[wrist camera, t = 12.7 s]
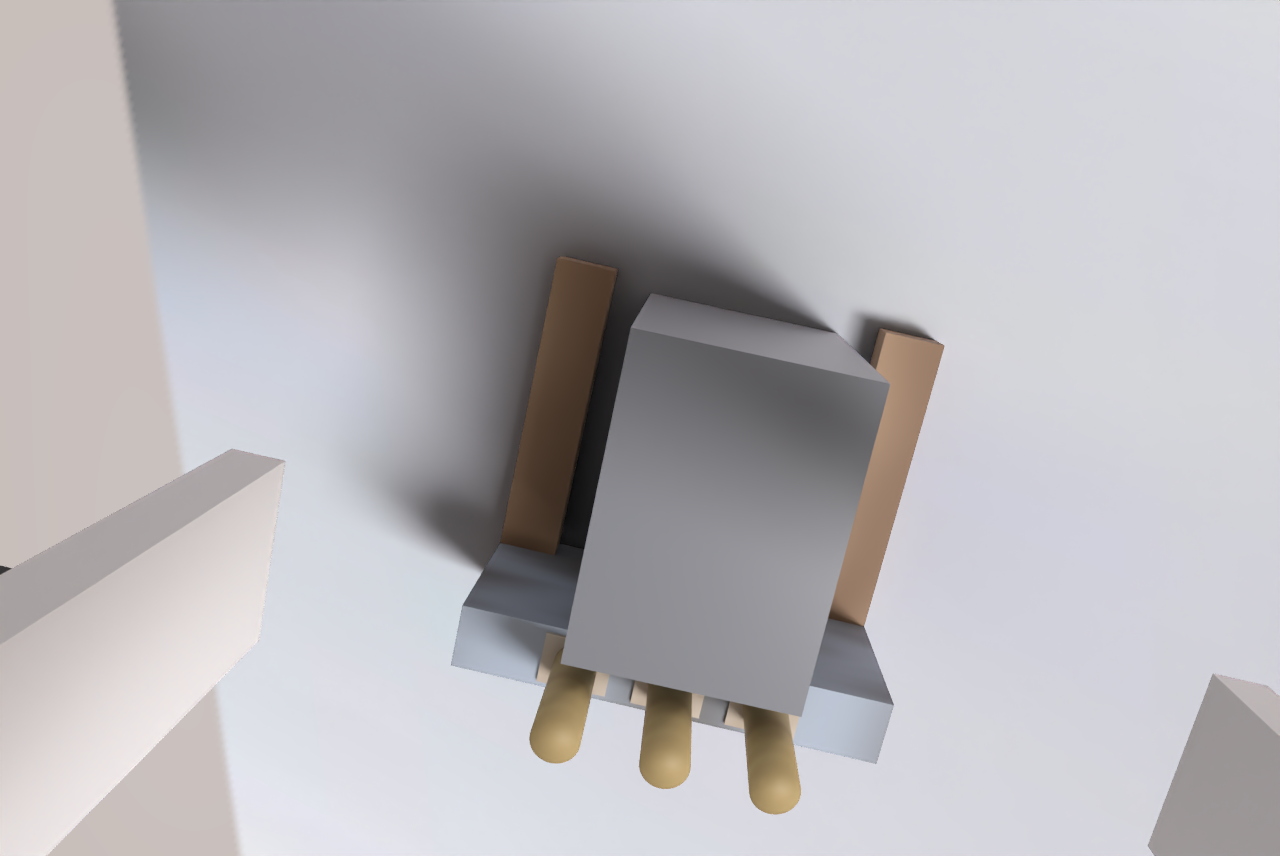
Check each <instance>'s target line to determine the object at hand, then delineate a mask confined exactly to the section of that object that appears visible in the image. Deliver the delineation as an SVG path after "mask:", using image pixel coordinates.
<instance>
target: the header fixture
mask: <svg viewBox="0 0 1280 856" xmlns="http://www.w3.org/2000/svg"><path fill="white" fill-rule="evenodd" d="M617 273H618V269H617V268H613V267H609V266H604V265H600V264H595V263H591V262H587V261H582V260H578V259H573V258H569V257H565V256H561V257H559V258H557V262H556V267H555V272H554V277H553V282H552V287H551V292H550V297H549V302H548V307H547V312H546V317H545V322H544V327H543V332H542V337H541V342H540V347H539V352H538V357H537V362H536V367H535V372H534V377H533V382H532V387H531V392H530V397H529V401H528V406H527V411H526V416H525V421H524V426H523V431H522V436H521V441H520V446H519V451H518V456H517V461H516V466H515V471H514V476H513V481H512V486H511V491H510V496H509V501H508V506H507V511H506V516H505V521H504V526H503V531H502V536H501V541H500V544H499V546H498V547H497V549H496V551H495V552H494V554H493V556H492V557H491V559H490V561H489V562H488V564H487V566H486V567H485V569H484V571H483V572H482V574H481V576H480V577H479V579H478V581H477V582H476V584H475V586H474V587H473V589H472V591H471V592H470V594H469V596H468V597H467V599H466V601H465V602H464V604H463V606H462V611H461V616H460V621H459V626H458V631H457V636H456V642H455V647H454V652H453V657H452V662H451V665H452V666H456V667H460V668H465V669H469V670H473V671H478V672H482V673H486V674H491V675H495V676H499V677H504V678H508V679H512V680H516V681H521V682H525V683H529V684H534V685H538V686H542V687H545V690H544V693H543V696H542V699H541V702H540V705H539V708H538V711H537V714H536V717H535V720H534V723H533V726H532V729H531V733H530V745H531V748H532V750H533V751H534V753H535V754H536V755H537V756H538V757H539V758H541V759H542V760H544V761H546V762H549V763H563V762H566V761H568V760H570V759H572V758H573V757H574V756H575V755H576V753H577V752H578V750H579V747H580V743H581V739H582V735H583V730H584V726H585V721H586V717H587V713H588V708H589V704H590V699H591V698H594V699H598V700H603V701H607V702H611V703H616V704H620V705H624V706H629V707H633V708H637V709H642V710H645V718H644V727H643V735H642V744H641V753H640V762H639V767H640V772H641V774H642V776H643V778H644V779H645V780H646V781H647V782H648V783H649V784H651V785H652V786H655V787H657V788H662V789H670V788H674V787H677V786H679V785H680V784H682V783H683V782H684V781H685V780H686V779H687V777H688V775H689V773H690V767H691V722H692V721H693V722H698V723H702V724H706V725H711V726H715V727H719V728H724V729H728V730H732V731H737V732H741V733H745V744H746V756H747V769H748V782H749V794H750V798H751V800H752V802H753V804H754V805H755V806H756V807H757V808H758V809H760V810H761V811H763V812H765V813H769V814H782V813H785V812H788V811H789V810H791V809H792V808H794V806H795V805H796V804H797V803H798V801H799V799H800V795H801V787H800V781H799V775H798V769H797V763H796V757H795V751H794V745H797V746H801V747H806V748H810V749H814V750H819V751H823V752H827V753H832V754H836V755H840V756H844V757H849V758H853V759H857V760H862V761H866V762H870V763H875V764H876V763H877V760H878V757H879V753H880V750H881V747H882V743H883V740H884V736H885V733H886V730H887V726H888V723H889V720H890V716H891V713H892V710H893V706H894V704H893V702H892V699H891V696H890V694H889V691H888V688H887V686H886V683H885V681H884V678H883V675H882V673H881V670H880V668H879V665H878V662H877V660H876V657H875V654H874V652H873V649H872V647H871V644H870V641H869V639H868V636H867V633H866V631H865V628H864V624H865V621H866V617H867V614H868V610H869V607H870V604H871V600H872V597H873V593H874V590H875V586H876V583H877V579H878V576H879V572H880V569H881V565H882V562H883V558H884V555H885V551H886V548H887V544H888V541H889V537H890V534H891V530H892V527H893V523H894V520H895V516H896V513H897V509H898V506H899V503H900V499H901V496H902V492H903V489H904V485H905V482H906V478H907V475H908V471H909V468H910V464H911V461H912V457H913V454H914V450H915V447H916V443H917V440H918V436H919V433H920V429H921V426H922V422H923V419H924V415H925V412H926V408H927V405H928V402H929V398H930V395H931V391H932V388H933V384H934V381H935V377H936V374H937V370H938V367H939V363H940V360H941V356H942V353H943V349H944V345H942V344H940V343H939V342H937V341H935V340H930V339H926V338H921V337H917V336H913V335H908V334H904V333H899V332H895V331H891V330H886V329H882V328H880V329H879V332H878V336H877V340H876V343H875V347H874V351H873V354H872V358H871V362H870V365H871V366H872V367H873V368H874V369H875V370H876V371H877V372H878V373H880V374H881V375H882V376H883V377H884V378H885V379H886V380H887V381H888V382H889V383H890V388H889V391H888V395H887V399H886V403H885V406H884V410H883V414H882V418H881V421H880V425H879V429H878V433H877V436H876V440H875V444H874V448H873V451H872V455H871V459H870V463H869V466H868V470H867V474H866V478H865V481H864V485H863V489H862V492H861V496H860V500H859V504H858V507H857V511H856V515H855V519H854V522H853V526H852V530H851V534H850V537H849V541H848V545H847V549H846V552H845V556H844V560H843V564H842V567H841V571H840V575H839V579H838V582H837V586H836V590H835V594H834V597H833V601H832V605H831V609H830V612H829V616H828V620H827V623H826V627H825V631H824V635H823V638H822V642H821V646H820V650H819V653H818V657H817V661H816V665H815V668H814V672H813V676H812V680H811V683H810V687H809V691H808V695H807V698H806V702H805V706H804V710H803V713H802V717H799V716H794V715H790V714H785V713H781V712H776V711H772V710H767V709H763V708H758V707H754V706H749V705H745V704H740V703H736V702H731V701H726V700H722V699H717V698H713V697H708V696H704V695H699V694H695V693H690V692H686V691H681V690H677V689H672V688H668V687H663V686H659V685H654V684H650V683H645V682H641V681H636V680H632V679H627V678H623V677H618V676H614V675H609V674H605V673H600V672H596V671H591V670H587V669H582V668H578V667H573V666H569V665H564V664H560V663H561V659H562V654H563V649H564V644H565V639H566V635H567V630H568V625H569V620H570V616H571V611H572V606H573V601H574V596H575V592H576V587H577V582H578V577H579V573H580V568H581V563H582V558H583V553H584V549H581V548H577V547H572V546H568V545H564V544H560V539H561V534H562V530H563V525H564V520H565V516H566V511H567V506H568V501H569V497H570V492H571V487H572V483H573V478H574V473H575V469H576V464H577V459H578V455H579V450H580V445H581V441H582V436H583V431H584V427H585V422H586V417H587V413H588V408H589V403H590V399H591V394H592V389H593V385H594V380H595V375H596V371H597V366H598V361H599V357H600V352H601V347H602V343H603V338H604V333H605V329H606V324H607V319H608V315H609V310H610V305H611V301H612V296H613V291H614V287H615V282H616V277H617Z"/></svg>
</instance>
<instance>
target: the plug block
mask: <svg viewBox="0 0 1280 856" xmlns="http://www.w3.org/2000/svg"><path fill="white" fill-rule="evenodd" d="M889 388H890V383H889V382H888V381H887V380H886V379H885V378H884V377H883V376H882V375H881V374H880V373H878V372H877V371H876V370H875V369H874V368H873V367H872V366H871V365H870V364H869V363H868V362H867V361H866V360H865V359H864V358H863V357H862V356H861V355H860V354H858V353H857V352H856V351H855V350H854V349H853V348H852V347H851V346H850V345H849V344H848V343H847V342H846V341H845V340H844V339H843V338H842V337H841V336H839V335H838V334H837V333H833V332H829V331H824V330H820V329H815V328H810V327H806V326H801V325H797V324H792V323H787V322H783V321H778V320H774V319H769V318H764V317H760V316H755V315H750V314H746V313H741V312H737V311H732V310H727V309H723V308H718V307H714V306H709V305H704V304H700V303H695V302H691V301H686V300H681V299H677V298H672V297H668V296H663V295H658V294H654V293H651V294H650V296H649V297H648V299H647V301H646V302H645V304H644V306H643V307H642V309H641V311H640V313H639V314H638V316H637V318H636V319H635V321H634V323H633V324H632V326H631V329H630V333H629V338H628V343H627V348H626V353H625V357H624V362H623V367H622V372H621V376H620V381H619V386H618V391H617V396H616V400H615V405H614V410H613V415H612V420H611V424H610V429H609V434H608V439H607V443H606V448H605V453H604V458H603V463H602V467H601V472H600V477H599V482H598V486H597V491H596V496H595V501H594V506H593V510H592V515H591V520H590V525H589V530H588V534H587V539H586V544H585V549H584V553H583V558H582V563H581V568H580V573H579V577H578V582H577V587H576V592H575V596H574V601H573V606H572V611H571V616H570V620H569V625H568V630H567V635H566V639H565V644H564V649H563V654H562V659H561V663H560V664H564V665H569V666H573V667H578V668H582V669H587V670H591V671H596V672H600V673H605V674H609V675H614V676H618V677H623V678H627V679H632V680H636V681H641V682H645V683H650V684H654V685H659V686H663V687H668V688H672V689H677V690H681V691H686V692H690V693H695V694H699V695H704V696H708V697H713V698H717V699H722V700H726V701H731V702H736V703H740V704H745V705H749V706H754V707H758V708H763V709H767V710H772V711H776V712H781V713H785V714H790V715H794V716H799V717H802V713H803V710H804V706H805V702H806V698H807V695H808V691H809V687H810V683H811V680H812V676H813V672H814V668H815V665H816V661H817V657H818V653H819V650H820V646H821V642H822V638H823V635H824V631H825V627H826V623H827V620H828V616H829V612H830V609H831V605H832V601H833V597H834V594H835V590H836V586H837V582H838V579H839V575H840V571H841V567H842V564H843V560H844V556H845V552H846V549H847V545H848V541H849V537H850V534H851V530H852V526H853V522H854V519H855V515H856V511H857V507H858V504H859V500H860V496H861V492H862V489H863V485H864V481H865V478H866V474H867V470H868V466H869V463H870V459H871V455H872V451H873V448H874V444H875V440H876V436H877V433H878V429H879V425H880V421H881V418H882V414H883V410H884V406H885V403H886V399H887V395H888V391H889Z"/></svg>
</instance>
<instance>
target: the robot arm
mask: <svg viewBox="0 0 1280 856" xmlns="http://www.w3.org/2000/svg"><path fill="white" fill-rule="evenodd" d="M284 467H285V461H283V460H279V459H274V458H270V457H266V456H261V455H257V454H252V453H248V452H244V451H239V450H235V449H230V450H228V451H227V452H225V453H223V454H221V455H219V456H217V457H216V458H214V459H212V460H210V461H208V462H206V463H205V464H203V465H201V466H199V467H197V468H195V469H194V470H192V471H190V472H188V473H186V474H184V475H183V476H181V477H179V478H177V479H175V480H173V481H172V482H170V483H168V484H166V485H164V486H163V487H161V488H159V489H157V490H155V491H153V492H152V493H150V494H148V495H146V496H144V497H142V498H141V499H139V500H137V501H135V502H133V503H131V504H129V505H128V506H126V507H124V508H122V509H120V510H118V511H117V512H115V513H113V514H111V515H109V516H107V517H106V518H104V519H102V520H100V521H98V522H97V523H95V524H93V525H91V526H89V527H87V528H85V529H84V530H82V531H80V532H78V533H76V534H74V535H73V536H71V537H69V538H67V539H65V540H63V541H62V542H60V543H58V544H56V545H54V546H52V547H51V548H49V549H47V550H45V551H43V552H41V553H40V554H38V555H36V556H34V557H32V558H31V559H29V560H27V561H25V562H23V563H21V564H19V565H17V566H16V567H14V568H8V567H4V566H0V856H47V855H48V854H49V853H50V852H51V851H52V850H53V849H54V848H55V847H56V846H57V845H58V844H59V843H60V842H61V841H62V840H63V839H64V837H66V835H68V834H69V833H70V831H71V830H73V828H74V827H75V826H76V825H77V824H78V823H79V822H80V821H81V820H82V819H83V818H84V817H85V816H86V815H87V814H88V813H89V812H90V811H91V810H92V809H93V808H94V807H95V806H96V805H97V804H98V803H99V802H100V801H101V800H102V799H103V798H104V797H105V796H106V795H107V794H108V793H109V792H110V791H111V790H112V789H113V788H114V787H115V786H116V785H117V784H118V783H119V782H120V781H121V780H122V779H123V778H124V777H125V776H126V775H127V774H128V773H129V772H130V771H131V770H132V769H133V768H134V767H135V766H136V765H137V764H138V763H139V762H140V761H141V760H142V759H143V758H144V757H145V756H146V755H147V754H148V753H149V752H150V751H151V750H152V749H153V748H154V746H155V745H157V744H158V742H160V740H161V739H162V738H163V737H164V736H165V735H166V734H167V733H168V732H169V731H170V730H171V729H172V728H173V727H174V726H175V725H176V724H177V723H178V722H179V721H180V720H181V719H182V718H183V717H184V716H185V715H186V714H187V713H188V712H189V711H190V710H191V709H192V708H193V707H194V706H195V705H196V704H197V703H198V702H199V701H200V700H201V699H202V698H203V697H204V696H205V695H206V694H207V693H208V692H209V691H210V690H211V689H212V688H213V687H214V686H215V685H216V684H217V683H218V682H219V681H220V680H221V679H222V678H223V677H224V676H225V675H226V674H227V673H228V672H229V671H230V670H231V669H232V668H233V667H234V666H235V665H236V664H237V663H238V662H239V661H240V660H241V659H242V658H243V657H244V656H245V655H246V654H247V653H248V652H249V651H250V649H251V648H252V647H253V646H254V645H255V644H256V643H257V642H258V641H259V638H260V632H261V625H262V618H263V611H264V604H265V597H266V590H267V584H268V577H269V570H270V563H271V556H272V549H273V542H274V536H275V529H276V522H277V515H278V508H279V501H280V494H281V487H282V481H283V474H284ZM1148 847H1149V848H1150V850H1151V851H1152V853H1153V854H1154V855H1155V856H1280V696H1278V695H1277V694H1276V693H1275V692H1274V691H1273V690H1272V689H1270V688H1269V687H1268V686H1266V685H1261V684H1257V683H1252V682H1248V681H1244V680H1239V679H1235V678H1231V677H1226V676H1222V675H1217V674H1213V675H1212V677H1211V680H1210V683H1209V685H1208V688H1207V691H1206V693H1205V696H1204V699H1203V701H1202V704H1201V707H1200V709H1199V712H1198V714H1197V717H1196V720H1195V722H1194V725H1193V728H1192V730H1191V733H1190V736H1189V738H1188V741H1187V743H1186V746H1185V749H1184V751H1183V754H1182V757H1181V759H1180V762H1179V765H1178V767H1177V770H1176V773H1175V775H1174V778H1173V780H1172V783H1171V786H1170V788H1169V791H1168V794H1167V796H1166V799H1165V802H1164V804H1163V807H1162V810H1161V812H1160V815H1159V817H1158V820H1157V823H1156V825H1155V828H1154V831H1153V833H1152V836H1151V839H1150V841H1149V844H1148Z"/></svg>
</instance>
